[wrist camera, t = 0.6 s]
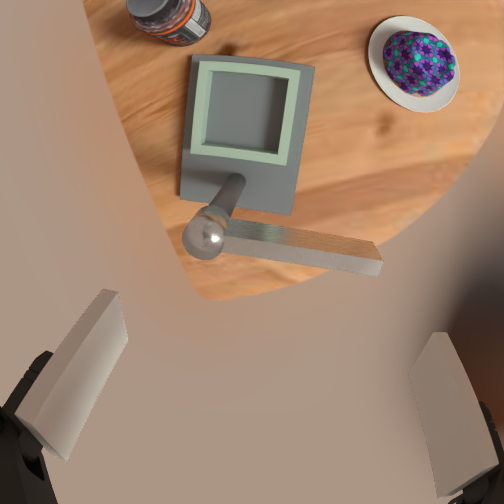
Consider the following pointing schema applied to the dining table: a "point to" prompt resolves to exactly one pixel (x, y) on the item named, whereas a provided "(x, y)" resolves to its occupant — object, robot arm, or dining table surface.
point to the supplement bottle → (171, 19)
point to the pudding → (414, 63)
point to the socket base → (244, 132)
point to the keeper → (277, 243)
